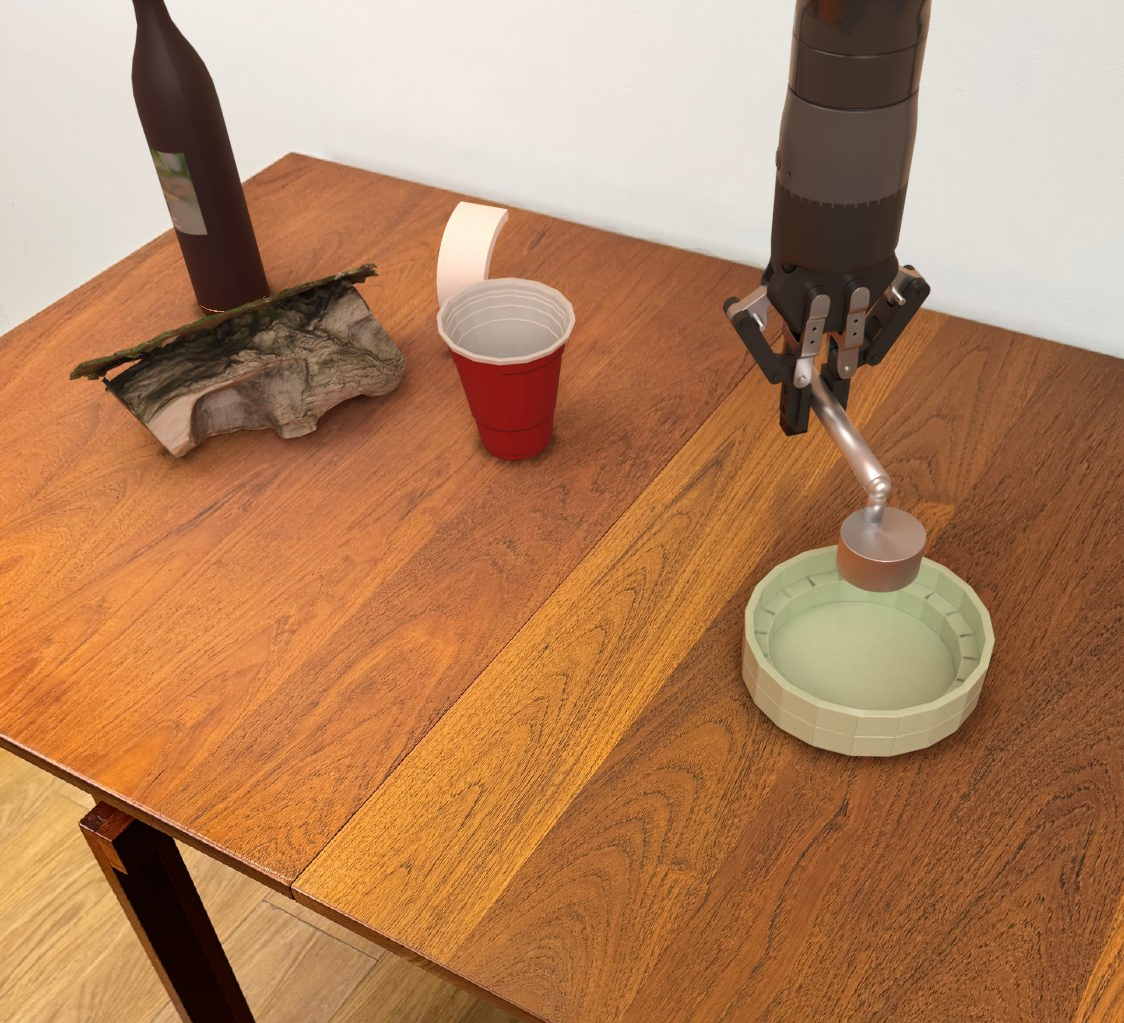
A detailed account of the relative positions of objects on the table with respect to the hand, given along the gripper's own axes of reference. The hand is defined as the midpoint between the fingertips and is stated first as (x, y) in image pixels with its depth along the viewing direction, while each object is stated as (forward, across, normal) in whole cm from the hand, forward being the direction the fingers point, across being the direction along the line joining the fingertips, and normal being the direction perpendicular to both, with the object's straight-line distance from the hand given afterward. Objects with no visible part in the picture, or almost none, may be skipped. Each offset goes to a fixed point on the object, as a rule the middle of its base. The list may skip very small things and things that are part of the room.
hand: (811, 421), depth 82 cm
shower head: (+3, 0, -5) cm, 6 cm away
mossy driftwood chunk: (+13, -38, +32) cm, 51 cm away
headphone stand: (+12, -17, +36) cm, 41 cm away
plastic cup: (+12, -17, +21) cm, 29 cm away
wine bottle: (+12, -39, +52) cm, 66 cm away
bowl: (+12, 0, -12) cm, 17 cm away
